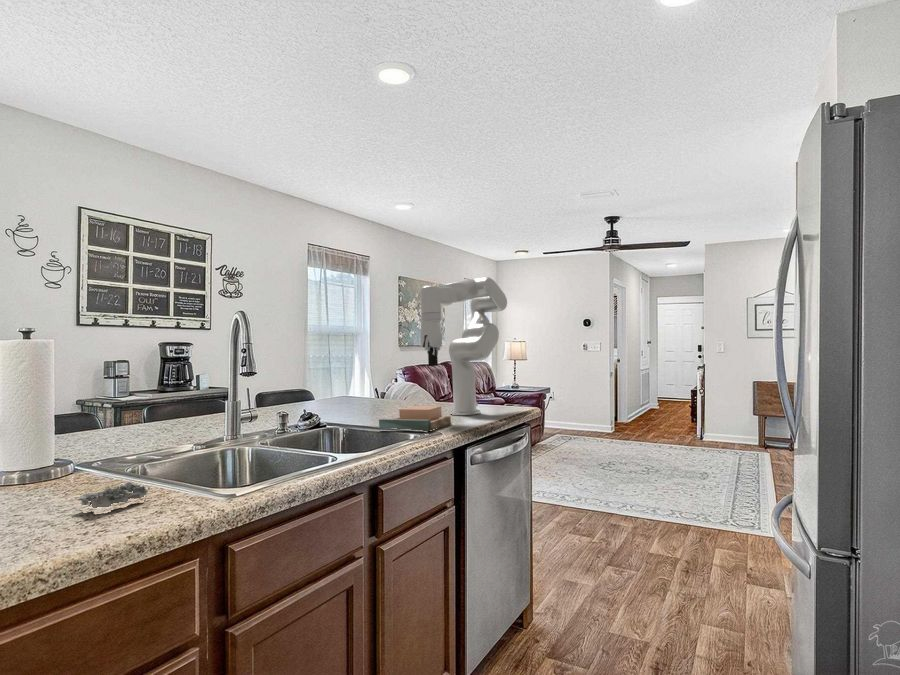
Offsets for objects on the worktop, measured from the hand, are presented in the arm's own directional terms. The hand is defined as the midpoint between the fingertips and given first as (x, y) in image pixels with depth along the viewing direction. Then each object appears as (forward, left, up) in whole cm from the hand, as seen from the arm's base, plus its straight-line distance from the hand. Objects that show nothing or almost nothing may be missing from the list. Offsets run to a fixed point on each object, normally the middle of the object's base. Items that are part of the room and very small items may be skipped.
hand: (433, 365), depth 209 cm
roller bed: (+16, 0, -21) cm, 27 cm away
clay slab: (+12, 0, -19) cm, 22 cm away
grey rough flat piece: (+118, -12, -22) cm, 120 cm away
